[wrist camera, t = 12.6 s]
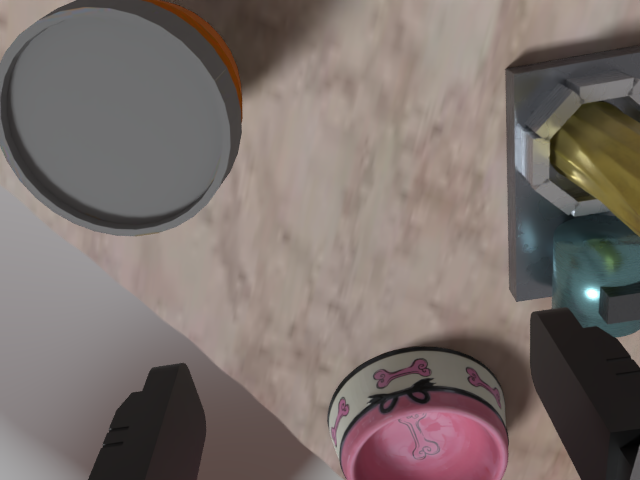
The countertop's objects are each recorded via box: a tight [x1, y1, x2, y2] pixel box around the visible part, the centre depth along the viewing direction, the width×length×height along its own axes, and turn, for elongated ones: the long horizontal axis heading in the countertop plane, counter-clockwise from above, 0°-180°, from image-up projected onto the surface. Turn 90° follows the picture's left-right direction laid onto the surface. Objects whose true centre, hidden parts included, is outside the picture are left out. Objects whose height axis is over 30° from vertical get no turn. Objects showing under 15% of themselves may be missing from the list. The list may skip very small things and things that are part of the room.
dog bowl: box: [328, 347, 509, 480], centre depth 56 cm, size 18×19×7 cm
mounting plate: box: [505, 45, 640, 337], centre depth 42 cm, size 20×11×10 cm, turn 10°
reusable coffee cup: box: [0, 0, 242, 236], centre depth 36 cm, size 13×13×15 cm
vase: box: [549, 102, 640, 237], centre depth 37 cm, size 6×6×14 cm
